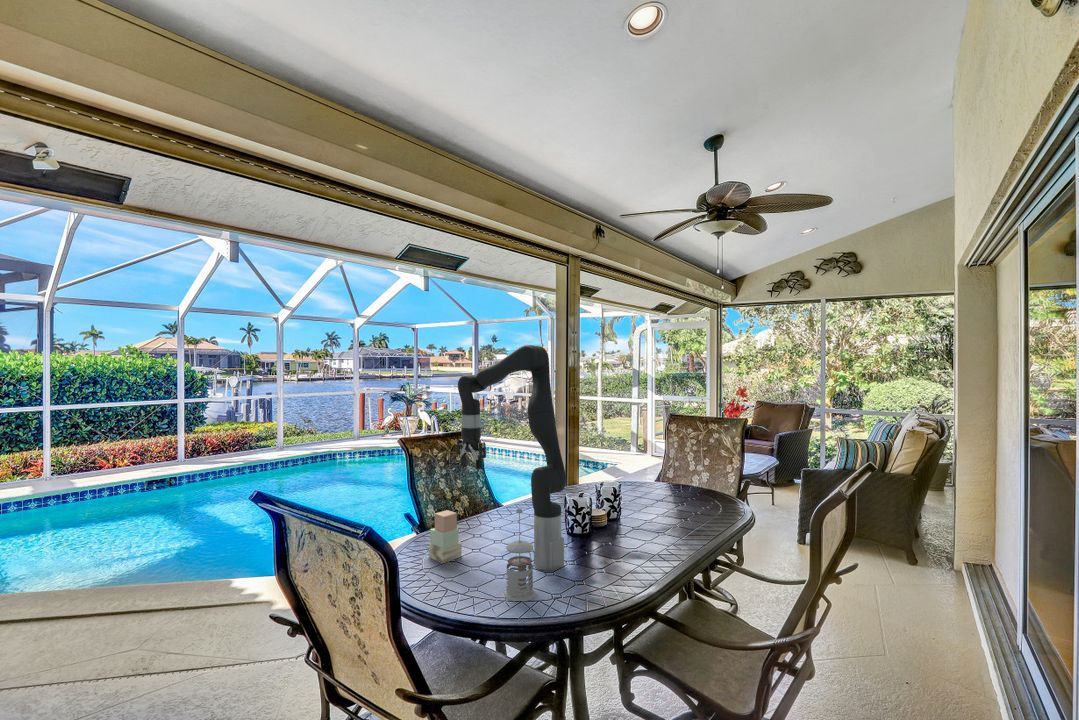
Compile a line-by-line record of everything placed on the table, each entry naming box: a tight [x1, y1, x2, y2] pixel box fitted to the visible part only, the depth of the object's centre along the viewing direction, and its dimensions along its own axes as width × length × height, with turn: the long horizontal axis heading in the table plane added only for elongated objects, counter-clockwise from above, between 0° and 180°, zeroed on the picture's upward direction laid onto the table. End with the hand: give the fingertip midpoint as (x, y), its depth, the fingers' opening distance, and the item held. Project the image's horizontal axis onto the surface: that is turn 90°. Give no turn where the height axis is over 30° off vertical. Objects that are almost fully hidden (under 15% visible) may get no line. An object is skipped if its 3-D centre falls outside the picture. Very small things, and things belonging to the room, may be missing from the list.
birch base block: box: [428, 541, 463, 564], centre depth 172 cm, size 8×8×5 cm
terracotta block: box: [434, 509, 458, 533], centre depth 172 cm, size 6×6×6 cm
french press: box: [503, 508, 537, 602], centre depth 145 cm, size 10×12×25 cm
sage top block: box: [429, 527, 460, 548], centre depth 172 cm, size 7×7×5 cm
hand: (471, 467), depth 190 cm, fingers open, 8 cm apart
